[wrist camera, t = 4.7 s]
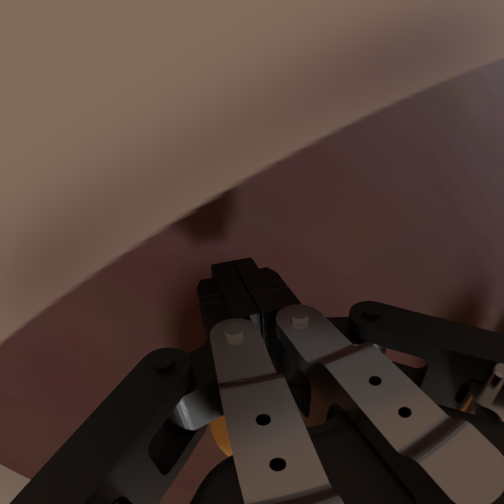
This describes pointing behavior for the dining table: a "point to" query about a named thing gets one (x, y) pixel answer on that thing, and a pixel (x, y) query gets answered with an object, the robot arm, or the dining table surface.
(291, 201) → the dining table surface
